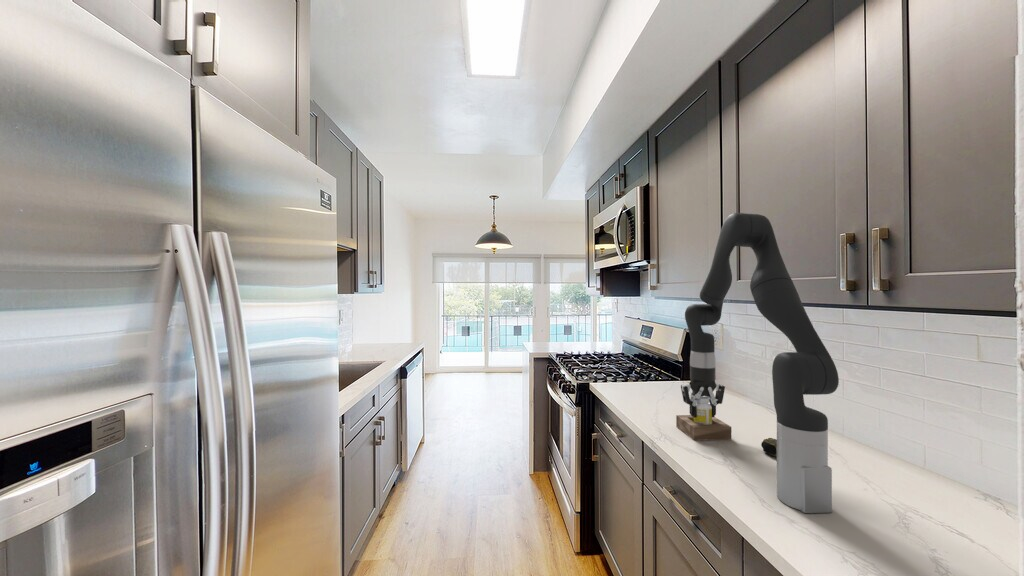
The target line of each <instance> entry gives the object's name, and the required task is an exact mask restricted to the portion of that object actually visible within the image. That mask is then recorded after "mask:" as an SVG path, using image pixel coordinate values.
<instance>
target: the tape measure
mask: <svg viewBox="0 0 1024 576" xmlns="http://www.w3.org/2000/svg"><path fill="white" fill-rule="evenodd" d="M760 446H761V448H762V449H763V452H765V453H766V454H768V455H770V456H773V457H776V458H777V438H772V437H768V438H764V439H763V441H761V445H760Z"/></svg>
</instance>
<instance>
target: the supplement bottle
mask: <svg viewBox="0 0 1024 576" xmlns="http://www.w3.org/2000/svg"><path fill="white" fill-rule="evenodd" d="M694 423H696V424H697V425H707V424H712V407H711V405H710V403H709V397H706V396H703V397H700V399H699V400H698V401H697V404H696V417H695V418H694Z"/></svg>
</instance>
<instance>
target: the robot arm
mask: <svg viewBox="0 0 1024 576" xmlns="http://www.w3.org/2000/svg"><path fill="white" fill-rule="evenodd" d="M735 247H741V248H742V247H745V248H751V249H752V251H753V253H754V255H755V259H756V266H755V269H754V272H753V274H752V276H751V279H750V285H749V288H750V292H751V295H752V298H753V300H754V303H755V306H756V307H757V310H758V311H759V313H760V314H761V315H762V316H763V317H764V318H765V319H766V320H767V321H768V322H769V323H770V324H772V325H773V326H774V327H776V329H778V330H779V331H780V332H781V333H782V334H784V336H786V337H787V339H788V340H789V341H790V343H791V344H792V346H793V347H794V350H795V351H793V352H792V351H788V352H786V351H785V352H781V353H778V354H777V355H775V358H774V360H773V362H772V365H771V366H772V367H771V368H772V370H771V376H772V378H771V379H772V387H773V388H772V391H773V406H774V410H775V413H776V414H775V415H776V440H777V457H776V497H777V499H778V500H779V501H780V502H782V503H783V504H785V505H787V506H788V507H790V508H793V509H796V510H799V511H800V512H802V513H804V514H815V513H816V514H820V513H822V514H823V513H826V514H827V513H832V512H833V479H832V478H833V475H832V474H833V469H832V467H831V466H829V462H828V461H829V448H828V447H829V435H828V434H829V420H828V417H827V415H826V414H825V413H823V412H821V411H819V410H817V409H814V408H811V407H809V406H807V405H806V404H805V400H804V399H805V398H804V395H806V396H807V395H816V396H817V395H818V396H819V395H831V394H833V393H834V392H836V390H837V389H838V387H839V385H840V384H839V383H840V382H839V381H840V379H839V372H838V370H837V366H836V364H835V362H834V360H833V358H832V356H831V354H830V353H829V351H828V349H827V348H826V346H825V344H824V342H823V341H822V339H821V338H820V336H819V335H818V332H817V331H816V329H815V328H814V325H813V324H812V321H811V319H810V318H809V316H808V313H807V312H806V309H805V307H804V305H803V302H802V300H801V298H800V295H799V293H798V291H797V288H796V286H795V283H794V281H793V280H792V279H793V278H791V275H790V273H789V271H788V269H787V267H786V263H785V261H784V259H783V257H782V254H781V251H780V248H779V246H778V242H777V238H776V235H775V232H774V229H773V226H772V223H771V221H770V220H769V219H768V217H767V216H765V215H763V214H758V213H745V212H733V213H731V214H729V215H728V216H727V217H726V218H725V220H724V221H723V224H722V226H721V229H720V232H719V236H718V239H717V242H716V246H715V250H714V253H713V258H712V263H711V266H710V268H709V269H710V270H709V272H708V275H707V277H706V279H705V281H704V283H703V285H702V287H701V289H700V291H699V298H700V301H702V302H703V303H694V304H689V305H688V306H687V307H686V308H685V312H684V320H685V323H686V326H687V331H688V333H689V337H690V356H689V379H690V381H689V382H688V383H689V384H685V385H684V384H681V385H680V390H681V394H682V400H683V403H685V404H687V405H688V406H689V415H691V416H692V417H694V418H695V417H696V404H697V401H698V400H699V399H700V397H703V396H706V397H709V403H708V404H710V405H711V407H712V417H716V415H717V405H719V404H720V405H722V404H723V401H724V394H725V388H726V386H724V385H723V384H719V383H718V384H717V383H716V377H717V376H716V354H715V336H714V334H712V333H709V332H704V330H703V327H702V326H704V327H705V326H707V327H709V326H715V325H717V324H718V323H719V321H720V320H721V317H722V312H723V311H722V310H723V304H724V300H725V298H726V296H727V294H728V292H729V290H730V288H731V285H732V282H733V272H732V268H731V264H730V263H731V262H730V258H731V254H732V252H733V251H734V248H735ZM690 389H691V390H690ZM715 390H716V391H715ZM690 391H691V392H690ZM714 391H715V395H714Z"/></svg>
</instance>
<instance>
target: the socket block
mask: <svg viewBox="0 0 1024 576" xmlns="http://www.w3.org/2000/svg"><path fill="white" fill-rule="evenodd" d="M675 418H676V419H675V420H676V421H675V423H676V426H675V427H676V428H677V429H678V430H680V431H681V432H682V433H684V434H685V435H686V436H688V437H689V438H690V439H692V440H693V441H724V440H725V441H727V440H730V441H731V440H732V426H731V425H729V424H727V423H726V422H724V421H723V420H721V419H719V418H717V417H716V416H715V417H712V424H707V425H697V424H696V423H694V417H692V416H691V415H690V414H684V415H683V414H678V415H676V417H675Z"/></svg>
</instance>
